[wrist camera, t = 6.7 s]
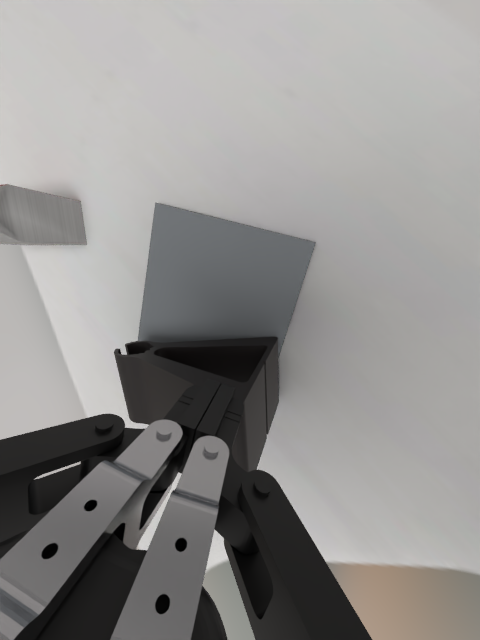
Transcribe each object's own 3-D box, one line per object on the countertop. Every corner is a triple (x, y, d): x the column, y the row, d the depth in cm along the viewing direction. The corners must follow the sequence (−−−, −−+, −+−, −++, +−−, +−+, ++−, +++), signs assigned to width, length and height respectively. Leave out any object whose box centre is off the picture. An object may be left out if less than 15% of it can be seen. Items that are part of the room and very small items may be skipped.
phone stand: (242, 405, 12) (68, 374, 16) (248, 494, 14) (91, 447, 18) (278, 336, 20) (155, 327, 24) (279, 399, 22) (165, 381, 26)
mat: (315, 242, 19) (315, 242, 18) (253, 432, 24) (252, 437, 24) (159, 204, 21) (155, 202, 20) (135, 387, 26) (131, 390, 26)
